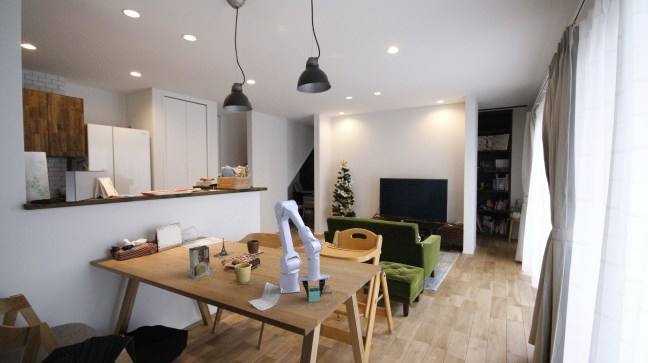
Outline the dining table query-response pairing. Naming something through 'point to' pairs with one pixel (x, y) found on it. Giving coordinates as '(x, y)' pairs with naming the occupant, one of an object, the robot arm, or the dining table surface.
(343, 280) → the dining table surface
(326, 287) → the pin plate
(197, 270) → the coffee box
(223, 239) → the eiffel tower figurine
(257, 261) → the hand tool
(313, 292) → the teal hollow block
